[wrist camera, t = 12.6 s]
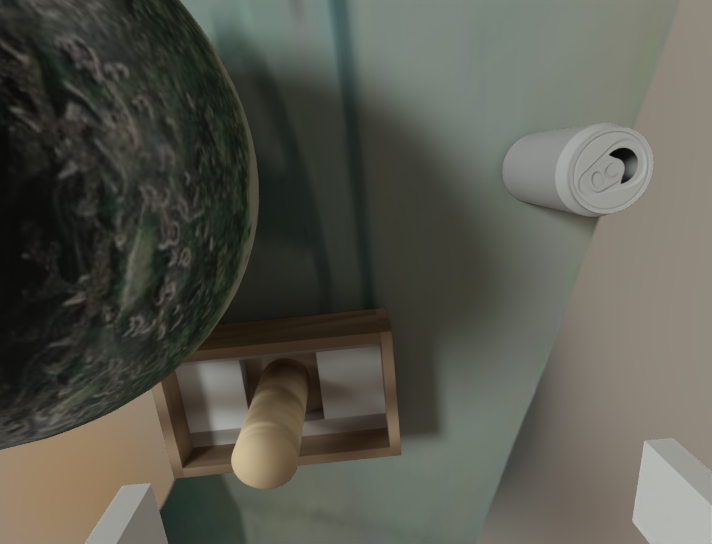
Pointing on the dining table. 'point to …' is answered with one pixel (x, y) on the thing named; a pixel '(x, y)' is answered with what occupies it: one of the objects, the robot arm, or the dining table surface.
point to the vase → (112, 204)
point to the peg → (273, 426)
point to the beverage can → (580, 168)
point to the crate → (325, 395)
